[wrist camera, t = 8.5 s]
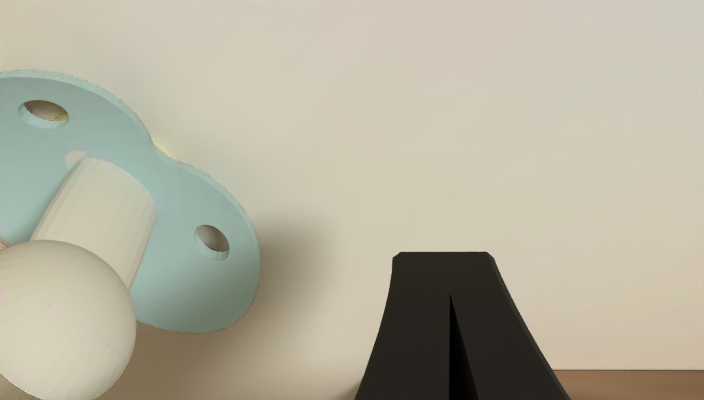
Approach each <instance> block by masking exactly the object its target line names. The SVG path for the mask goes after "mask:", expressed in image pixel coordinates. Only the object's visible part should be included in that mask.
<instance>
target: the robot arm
mask: <svg viewBox="0 0 704 400" xmlns="http://www.w3.org/2000/svg"><path fill="white" fill-rule="evenodd" d="M354 400H571V399H570V397H569V396H568V394H567V393H566V391H565V390H564V388H563V386H562V385H561V383H560V382H559V380H558V378H557V377H556V375H555V373H554V372H553V370H552V368H551V367H550V365H549V364H548V362H547V360H546V359H545V357H544V355H543V354H542V352H541V350H540V349H539V347H538V345H537V344H536V342H535V340H534V338H533V337H532V335H531V333H530V331H529V330H528V328H527V326H526V324H525V322H524V320H523V318H522V317H521V315H520V313H519V311H518V309H517V307H516V305H515V303H514V301H513V299H512V297H511V295H510V293H509V291H508V289H507V287H506V285H505V283H504V281H503V279H502V276H501V274H500V272H499V270H498V267H497V265H496V263H495V260H494V258H493V257H492V256H491V255H490V254H489V253H488V252H400V253H399V254H397V255H396V256H394V257H393V260H392V275H391V281H390V288H389V293H388V298H387V302H386V306H385V310H384V314H383V317H382V321H381V325H380V328H379V332H378V335H377V338H376V341H375V344H374V347H373V350H372V353H371V356H370V359H369V362H368V365H367V368H366V371H365V374H364V376H363V379H362V382H361V384H360V387H359V390H358V392H357V394H356V397H355V399H354Z"/></svg>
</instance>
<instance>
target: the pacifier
mask: <svg viewBox="0 0 704 400" xmlns="http://www.w3.org/2000/svg"><path fill="white" fill-rule="evenodd" d="M31 100H45V101H49V102H52V103H55V104H57V105H59V106H61V107H63V108H64V109H65V110H66V111H67V114H64V115H60V116H58V117H57V118H55V119H54V120H52V121H49V120H44V119H41V118H38V117H37V116H35V115H33V114H31V113H30V112H29V111H28V110H27V109H26V107H25V103H24V102H28V101H31ZM201 225H210V226H213V227H215V228H217V229H218V230H220V231H221V232H222V233H223V234H224V236H225V237H226V239H227V241H228V244H229V249H228V250H227V251H224V252H217V251H214V250H211V249H210V248H208V247H207V246H206V245H205V244H204V243H203V242H202V241H201V239H200V238H199V236H198V233H197V227H198V226H201ZM0 242H1V243H3V244H4V245H6V246H7V247H8V248H7V249H5V250H2V251H0V374H1V375H2V376H3V377H4V378H5V379H7V380H8V381H9V382H10V383H11V384H13V385H14V386H16V387H17V388H19V389H21V390H22V391H24V392H25V393H27V394H30V395H32V396H34V397H36V398H39V399H41V400H93V399H96V398H98V397H99V396H101V395H102V394H104V393H105V392H107V391H108V390H109V389H110V388H111V387H112V386H113V385H114V384H115V382H116V381H117V380H118V379H119V378H120V377H121V375H122V374H123V372H124V370H125V368H126V367H127V365H128V363H129V361H130V359H131V356H132V353H133V349H134V345H135V341H136V327H137V325H136V320H138V321H139V322H141V323H144V324H147V325H150V326H153V327H156V328H158V329H161V330H167V331H174V332H186V333H192V334H196V333H210V332H214V331H217V330H221V329H224V328H226V327H227V326H229V325H231V324H233V323H235V322H236V321H237V320H238V319H239V318H241V317H242V316H243V315H244V314H245V313H246V311H247V310H248V308H249V306H250V305H251V303H252V301H253V300H254V297H255V294H256V291H257V288H258V284H259V277H260V258H261V257H260V248H259V243H258V239H257V236H256V233H255V230H254V227H253V225H252V223H251V221H250V219H249V217H248V215H247V214H246V212H245V210H244V208H243V207H242V206H241V205H240V203H239V202H238V201H237V200H236V199H235V197H234V196H233V195H232V194H231V193H230V192H229V191H228V190H227V189H226V188H225V187H224V186H222V185H221V184H220V183H219V182H217V181H216V180H215V179H214V178H212V177H211V176H209V175H208V174H206V173H204V172H202V171H201V170H199V169H197V168H195V167H193V166H191V165H189V164H186V163H183V162H180V161H177V160H174V159H172V158H170V157H168V156H167V155H166V154H165V153H164V152H163V151H162V150H161V149H159V148H158V147H157V146H156V145H155V144H154V143H153V141H152V138H151V136H150V134H149V132H148V130H147V128H146V127H145V125H144V124H143V123H142V121H141V120H140V119H139V117H138V116H137V115H136V114H135V112H133V111H132V110H131V109H130V108H129V107H128V106H127V105H126V104H125V103H124V102H122V101H121V100H120V99H119V98H117V97H116V96H114V95H113V94H111V93H109V92H108V91H106V90H105V89H103V88H101V87H99V86H97V85H95V84H93V83H90V82H88V81H85V80H82V79H79V78H76V77H73V76H69V75H66V74H62V73H55V72H48V71H38V70H13V71H4V72H0Z"/></svg>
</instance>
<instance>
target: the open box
mask: <svg viewBox="0 0 704 400" xmlns="http://www.w3.org/2000/svg"><path fill="white" fill-rule="evenodd" d="M553 372H554V373H555V375H556V377H557V378H558V380H559V382H560V383H561V385H562V386H563V388H564V390H565V391H566V393H567V394H568V396H569V397H570V399H571V400H704V371H572V370H553Z"/></svg>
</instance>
